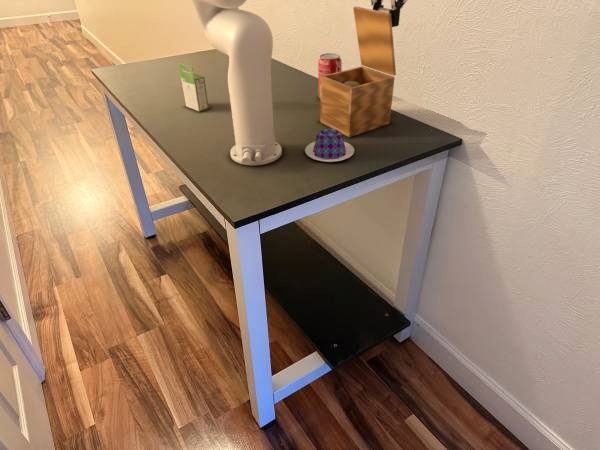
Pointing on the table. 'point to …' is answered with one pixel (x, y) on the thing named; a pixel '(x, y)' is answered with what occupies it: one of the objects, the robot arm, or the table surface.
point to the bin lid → (375, 39)
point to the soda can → (328, 66)
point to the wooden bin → (356, 100)
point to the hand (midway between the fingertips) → (385, 23)
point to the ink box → (194, 89)
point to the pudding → (329, 146)
